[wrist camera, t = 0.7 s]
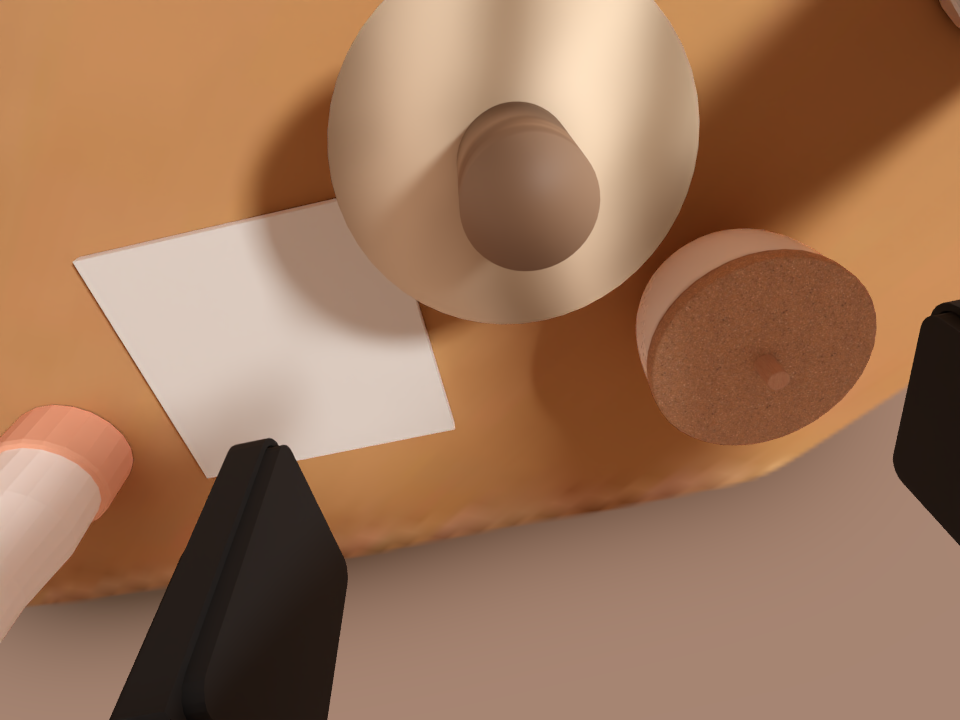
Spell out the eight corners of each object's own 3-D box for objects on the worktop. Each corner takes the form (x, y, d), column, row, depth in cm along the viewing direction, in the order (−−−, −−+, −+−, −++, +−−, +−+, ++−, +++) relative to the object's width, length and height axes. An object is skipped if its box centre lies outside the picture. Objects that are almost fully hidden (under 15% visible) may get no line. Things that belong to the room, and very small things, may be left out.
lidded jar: (616, 377, 39) (659, 481, 31) (612, 216, 33) (664, 293, 25) (786, 353, 39) (873, 452, 31) (811, 185, 33) (927, 254, 25)
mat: (383, 187, 32) (382, 190, 31) (454, 423, 40) (454, 429, 40) (78, 257, 33) (72, 261, 33) (210, 472, 42) (207, 478, 41)
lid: (683, -107, 20) (766, -133, 15) (692, 275, 28) (750, 347, 22) (275, -2, 21) (219, 8, 16) (391, 338, 29) (379, 421, 23)
